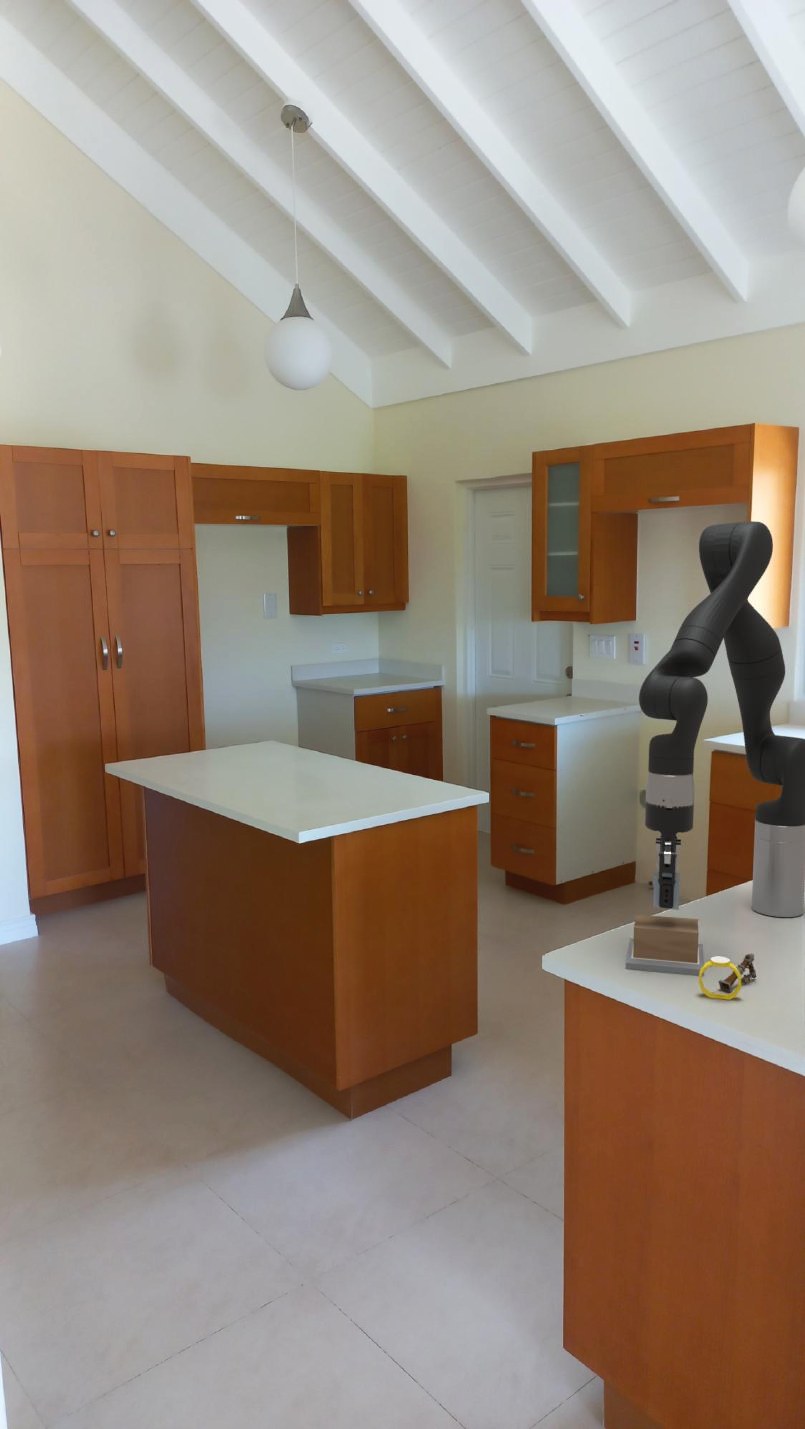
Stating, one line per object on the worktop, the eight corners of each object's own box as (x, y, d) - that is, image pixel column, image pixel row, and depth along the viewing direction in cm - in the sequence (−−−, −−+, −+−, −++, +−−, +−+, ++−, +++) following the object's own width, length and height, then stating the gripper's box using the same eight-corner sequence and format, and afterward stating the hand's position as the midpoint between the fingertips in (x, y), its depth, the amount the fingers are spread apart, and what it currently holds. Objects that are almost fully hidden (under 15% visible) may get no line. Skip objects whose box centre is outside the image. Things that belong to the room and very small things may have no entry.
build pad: (629, 943, 171) (629, 937, 171) (702, 950, 168) (702, 943, 168) (625, 968, 160) (626, 962, 160) (704, 976, 157) (704, 969, 157)
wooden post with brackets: (763, 974, 155) (757, 951, 154) (734, 1006, 151) (728, 983, 150) (752, 971, 157) (746, 948, 155) (724, 1002, 153) (717, 979, 151)
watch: (699, 1000, 148) (697, 961, 148) (699, 993, 151) (697, 955, 150) (741, 1002, 146) (740, 963, 146) (741, 995, 149) (740, 956, 148)
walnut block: (635, 943, 169) (635, 914, 168) (696, 948, 166) (697, 919, 165) (633, 957, 162) (633, 927, 161) (697, 963, 159) (698, 932, 159)
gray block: (653, 900, 165) (654, 871, 165) (678, 902, 164) (679, 873, 164) (653, 907, 162) (654, 877, 161) (678, 909, 161) (679, 879, 160)
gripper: (647, 790, 169) (644, 889, 171) (644, 807, 155) (640, 914, 157) (693, 792, 167) (690, 893, 169) (694, 810, 153) (690, 918, 155)
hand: (666, 902), depth 163 cm, fingers closed on gray block, 4 cm apart
